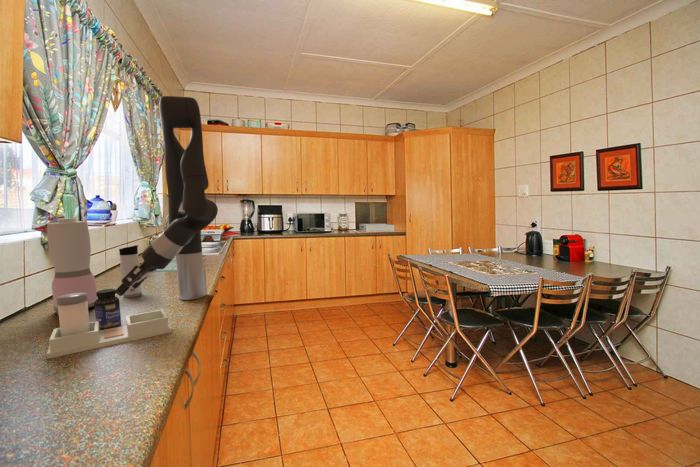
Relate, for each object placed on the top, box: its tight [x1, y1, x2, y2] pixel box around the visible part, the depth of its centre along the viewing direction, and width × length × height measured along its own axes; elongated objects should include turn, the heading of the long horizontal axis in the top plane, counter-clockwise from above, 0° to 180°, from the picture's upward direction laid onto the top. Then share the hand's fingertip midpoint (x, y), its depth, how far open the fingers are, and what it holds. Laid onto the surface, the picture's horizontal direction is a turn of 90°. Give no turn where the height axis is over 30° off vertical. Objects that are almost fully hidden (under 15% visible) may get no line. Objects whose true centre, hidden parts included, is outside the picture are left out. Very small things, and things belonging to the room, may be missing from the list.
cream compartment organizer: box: [45, 293, 173, 359], centre depth 96 cm, size 27×11×13 cm, turn 124°
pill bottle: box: [93, 288, 122, 330], centre depth 105 cm, size 6×6×11 cm
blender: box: [46, 217, 98, 316], centre depth 125 cm, size 16×12×32 cm
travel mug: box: [118, 245, 143, 298], centre depth 141 cm, size 6×7×20 cm
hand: (125, 290), depth 105 cm, fingers open, 8 cm apart
